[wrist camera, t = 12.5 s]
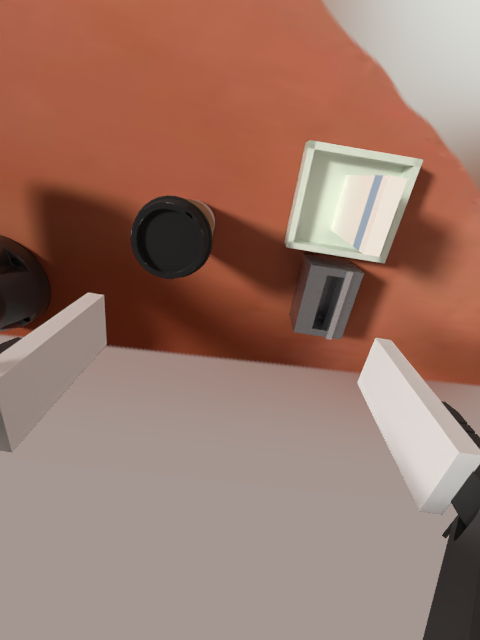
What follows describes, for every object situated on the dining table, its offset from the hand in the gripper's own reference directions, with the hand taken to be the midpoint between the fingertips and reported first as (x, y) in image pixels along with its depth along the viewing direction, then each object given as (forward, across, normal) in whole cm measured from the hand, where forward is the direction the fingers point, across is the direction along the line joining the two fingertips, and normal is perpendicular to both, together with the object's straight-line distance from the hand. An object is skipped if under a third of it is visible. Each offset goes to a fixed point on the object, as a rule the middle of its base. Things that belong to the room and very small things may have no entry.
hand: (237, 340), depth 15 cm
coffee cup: (+32, -8, 0) cm, 33 cm away
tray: (+32, +12, +6) cm, 34 cm away
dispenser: (+32, +12, -7) cm, 35 cm away
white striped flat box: (+31, +12, +6) cm, 34 cm away
